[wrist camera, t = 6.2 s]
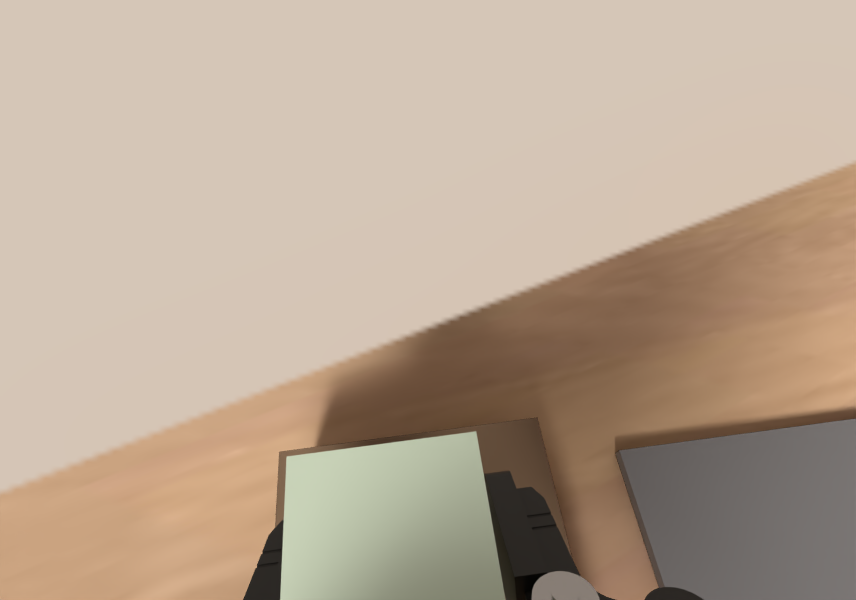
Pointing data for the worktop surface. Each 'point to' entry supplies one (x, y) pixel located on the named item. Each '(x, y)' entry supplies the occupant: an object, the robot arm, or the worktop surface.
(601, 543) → the worktop surface
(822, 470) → the mat
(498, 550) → the robot arm
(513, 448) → the brown rectangular box
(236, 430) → the worktop surface
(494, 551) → the pale green rectangular block
